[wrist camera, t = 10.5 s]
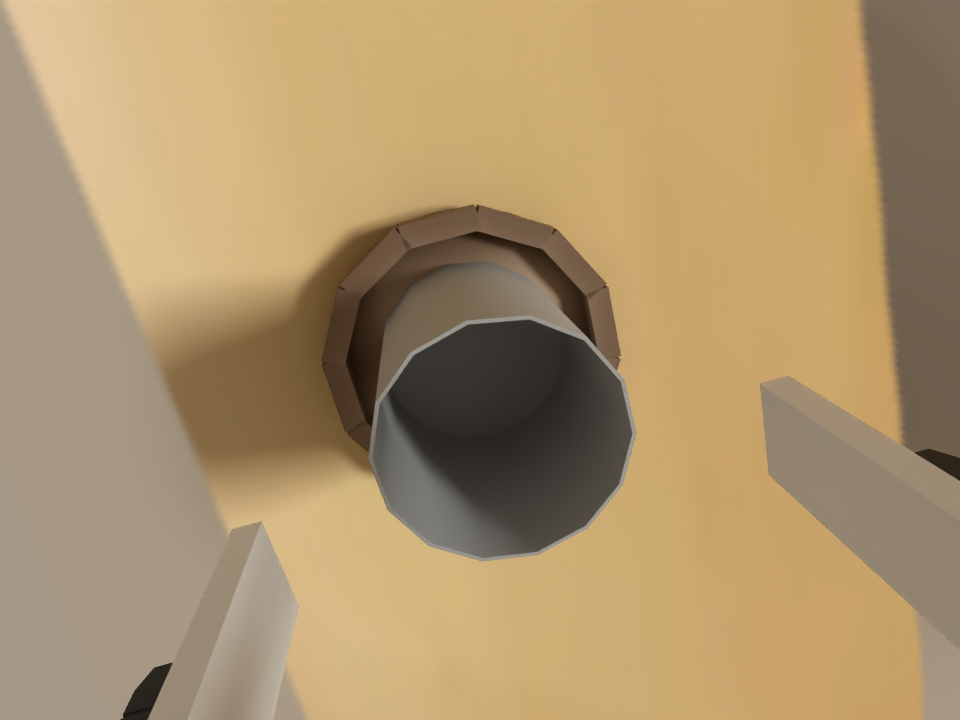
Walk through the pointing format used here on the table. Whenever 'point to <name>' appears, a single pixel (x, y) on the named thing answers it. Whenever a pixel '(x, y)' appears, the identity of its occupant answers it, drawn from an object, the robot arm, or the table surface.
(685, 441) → the table surface
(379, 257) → the tray
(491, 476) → the cup
